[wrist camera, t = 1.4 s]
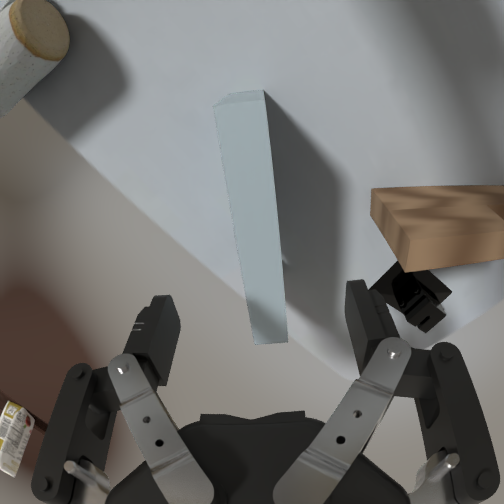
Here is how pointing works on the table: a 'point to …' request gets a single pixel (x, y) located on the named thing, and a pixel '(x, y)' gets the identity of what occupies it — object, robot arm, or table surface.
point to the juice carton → (13, 436)
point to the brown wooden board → (441, 224)
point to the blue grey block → (253, 210)
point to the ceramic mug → (28, 47)
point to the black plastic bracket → (414, 295)
